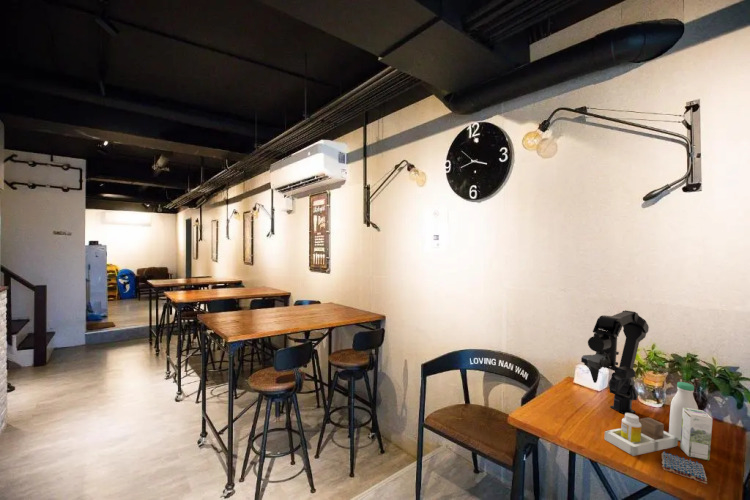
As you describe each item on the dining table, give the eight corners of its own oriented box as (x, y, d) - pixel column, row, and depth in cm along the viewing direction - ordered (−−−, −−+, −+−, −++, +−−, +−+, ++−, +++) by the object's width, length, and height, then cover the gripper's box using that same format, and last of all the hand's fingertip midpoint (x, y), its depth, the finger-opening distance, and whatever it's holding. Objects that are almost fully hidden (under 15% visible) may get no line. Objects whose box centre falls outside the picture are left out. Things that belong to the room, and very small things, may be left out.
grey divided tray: (647, 431, 131) (647, 423, 131) (677, 446, 122) (677, 437, 122) (604, 439, 124) (604, 431, 124) (633, 456, 115) (633, 446, 114)
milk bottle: (690, 446, 122) (694, 389, 122) (664, 435, 129) (667, 381, 128) (700, 441, 125) (704, 386, 125) (674, 430, 132) (677, 378, 132)
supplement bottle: (642, 445, 121) (644, 416, 121) (637, 451, 117) (639, 421, 117) (623, 438, 125) (624, 410, 125) (618, 443, 122) (619, 414, 122)
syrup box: (700, 451, 119) (702, 409, 119) (710, 461, 113) (712, 417, 113) (679, 447, 121) (682, 406, 120) (688, 457, 115) (691, 414, 115)
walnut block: (647, 436, 128) (648, 417, 127) (662, 443, 123) (663, 424, 123) (638, 438, 126) (639, 418, 126) (653, 445, 121) (654, 425, 121)
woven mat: (661, 471, 108) (662, 464, 108) (660, 455, 116) (661, 449, 116) (707, 486, 102) (708, 479, 102) (703, 469, 110) (703, 462, 110)
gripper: (572, 342, 145) (570, 379, 145) (616, 357, 127) (613, 399, 127) (592, 341, 148) (590, 377, 148) (637, 355, 131) (635, 396, 131)
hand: (605, 387), depth 139 cm, fingers open, 9 cm apart
